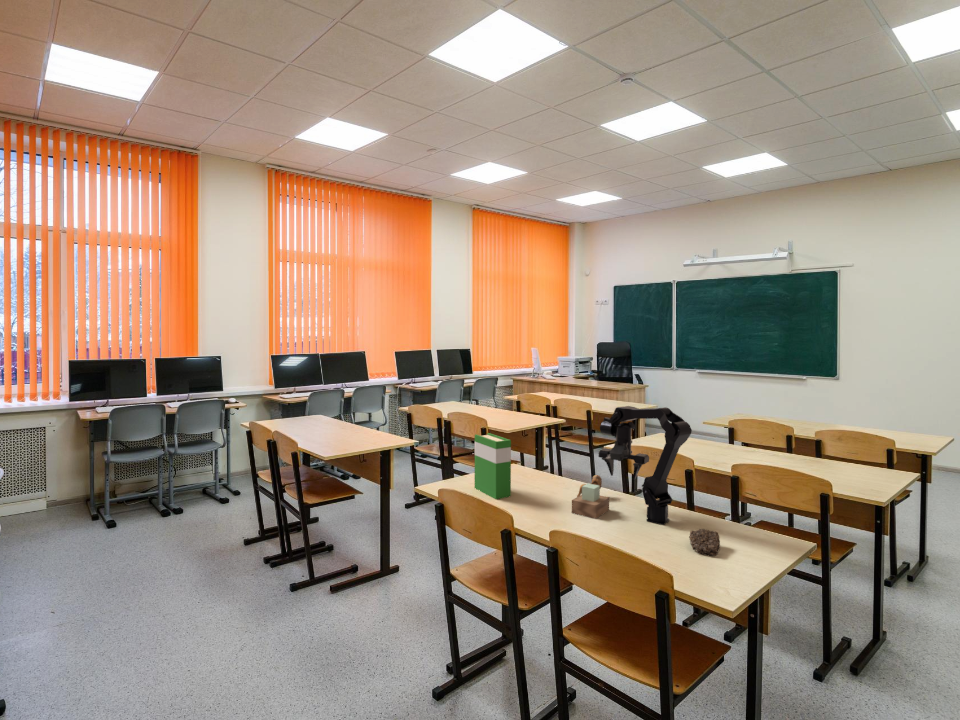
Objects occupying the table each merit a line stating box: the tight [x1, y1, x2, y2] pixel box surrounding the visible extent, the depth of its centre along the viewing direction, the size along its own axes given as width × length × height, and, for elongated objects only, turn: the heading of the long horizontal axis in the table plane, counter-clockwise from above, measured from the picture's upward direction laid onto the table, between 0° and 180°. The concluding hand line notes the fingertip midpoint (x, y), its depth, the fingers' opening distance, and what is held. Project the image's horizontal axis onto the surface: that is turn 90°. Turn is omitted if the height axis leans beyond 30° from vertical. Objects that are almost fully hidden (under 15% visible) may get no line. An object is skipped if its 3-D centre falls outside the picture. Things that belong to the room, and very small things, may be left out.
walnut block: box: [571, 494, 610, 520], centre depth 201 cm, size 10×12×5 cm
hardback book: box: [474, 432, 512, 500], centre depth 224 cm, size 18×7×24 cm, turn 30°
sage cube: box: [581, 482, 601, 502], centre depth 201 cm, size 5×5×5 cm
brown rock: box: [688, 528, 721, 557], centre depth 167 cm, size 12×10×5 cm
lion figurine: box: [576, 474, 603, 498], centre depth 216 cm, size 15×5×9 cm, turn 133°
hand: (623, 477), depth 205 cm, fingers open, 9 cm apart
